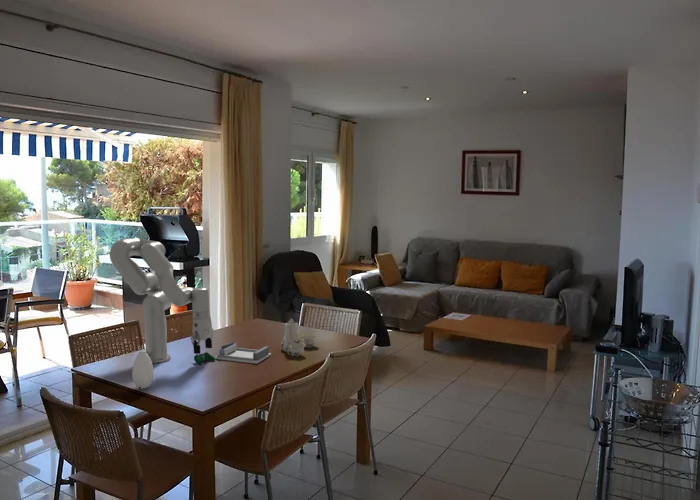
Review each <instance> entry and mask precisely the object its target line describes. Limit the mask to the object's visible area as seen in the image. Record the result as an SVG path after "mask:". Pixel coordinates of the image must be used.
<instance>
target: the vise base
mask: <svg viewBox="0 0 700 500" xmlns="http://www.w3.org/2000/svg"><path fill="white" fill-rule="evenodd" d="M270 356H272V353H271V352H270V347H269V346H267V345H266V346H263V347H261V348H260V349H251V348H244V347H236V350H235V351H233V352H231V353H229V354H227V355H220V353H219V354H217V355H216V356H215V357H214V358H215V360H221V361H231V362H237V363H239V362H240V363H249V364H257V365H258V364H259V363H260V362H262V361H264V360H265V359H267V358H269V357H270Z"/></svg>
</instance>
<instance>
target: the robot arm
mask: <svg viewBox="0 0 700 500" xmlns="http://www.w3.org/2000/svg"><path fill="white" fill-rule="evenodd" d="M165 254H166V247H165V245H164V244H163V243H161V242H160V241H155V240H150V239H144V238H139V237H129V238H122V239H119V240H116V242H114V243H113V244H112V245H111V247H110V250H109V260H110V262H111V264H112V266H113V267H114V268H115V270H116V271H117V272H118V273H119V275H121V277H122V278H123V281H125V282H126V283H127V284H128V286H129V288H130V289H131V290H132V291H133V292H134V293H135V294H136V295H139V296H143V295H146V294H147V296H146V297H145V298H144V299H143V301H142V311H143V316H144V318H143V319H144V333H145V334H144V338H145V339H144V340H145V341H144V343H145V351H146V353H147V354H148V356H149V357H150V359H151V362H152V364H157V363H158V362H160V363H164V362H168V361H170V360H171V355H170V354H168V348H167V347H168V337H167V336H168V334H167V332H168V331H167V327H168V325H167V318H166V313H165V311H166V310H168V309H169V308H170V307H171V306H172V305H174V306H176V307H183V306H185V305H188V304H190V303H192V306H191V307H192V335H191V336H190V338H189V339H190V341H191V345H192V346H193V353H194V354H195V355H196V354H198V355H199V354H201V345H200V343H201V341H205V342H204V343H205V348H206V349H212V348H213V341H212V340H213V336H214V328H213V324H212V323H213V322H212V317H211V315H210V314H211V313H210V295H209V294H210V293H209V289H208V288H207V287H189V286H184V287H180V286H179V285H178V283H177V282H176V280H175V278H174V265H173V264H172V263H171V262H170V261H169V260H168V258H167V257H166V256H165ZM133 256H136V257H141V258H142V260H143V261H144V262H145V263H146V265H147V266H148V267H149V269H150V270H151V271H152V272H144V271H143V270H142V269H141V267H140V266H139V265H138V264H137V263H136V262H135V261H134V260H133V259H131V257H133ZM158 364H159V363H158Z"/></svg>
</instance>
